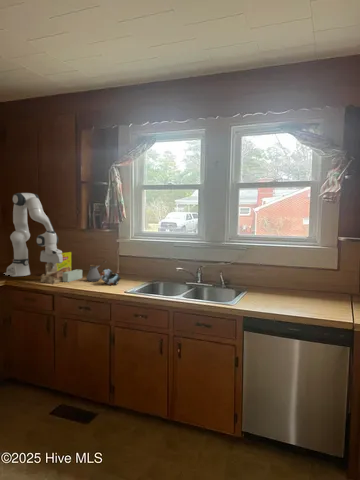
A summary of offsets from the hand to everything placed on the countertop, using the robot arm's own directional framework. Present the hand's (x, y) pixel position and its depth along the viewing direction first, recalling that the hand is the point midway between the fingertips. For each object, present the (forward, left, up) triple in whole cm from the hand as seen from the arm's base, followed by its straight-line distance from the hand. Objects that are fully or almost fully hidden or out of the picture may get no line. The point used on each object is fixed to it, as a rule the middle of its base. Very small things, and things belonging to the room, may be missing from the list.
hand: (51, 267), depth 282 cm
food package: (-4, +20, -10) cm, 23 cm away
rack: (+4, 0, -10) cm, 11 cm away
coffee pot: (+32, +18, -10) cm, 38 cm away
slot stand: (+14, +9, -10) cm, 19 cm away
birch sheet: (0, 0, -10) cm, 10 cm away
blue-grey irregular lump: (+50, +9, -10) cm, 52 cm away
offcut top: (+6, 0, -6) cm, 9 cm away
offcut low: (+6, 0, -10) cm, 12 cm away
